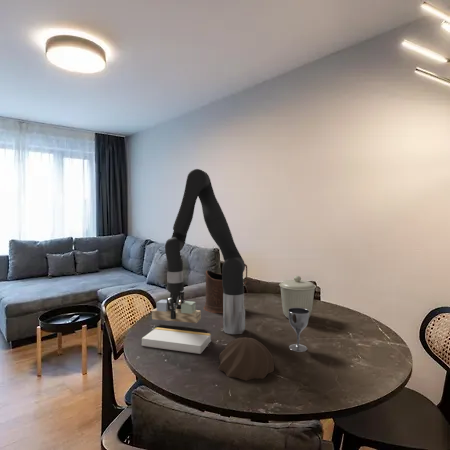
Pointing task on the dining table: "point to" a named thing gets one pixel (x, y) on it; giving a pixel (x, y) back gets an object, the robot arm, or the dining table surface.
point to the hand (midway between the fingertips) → (176, 316)
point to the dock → (177, 340)
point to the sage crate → (188, 307)
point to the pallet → (177, 316)
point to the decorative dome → (246, 359)
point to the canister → (297, 294)
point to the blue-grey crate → (162, 305)
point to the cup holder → (215, 292)
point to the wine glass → (298, 325)
